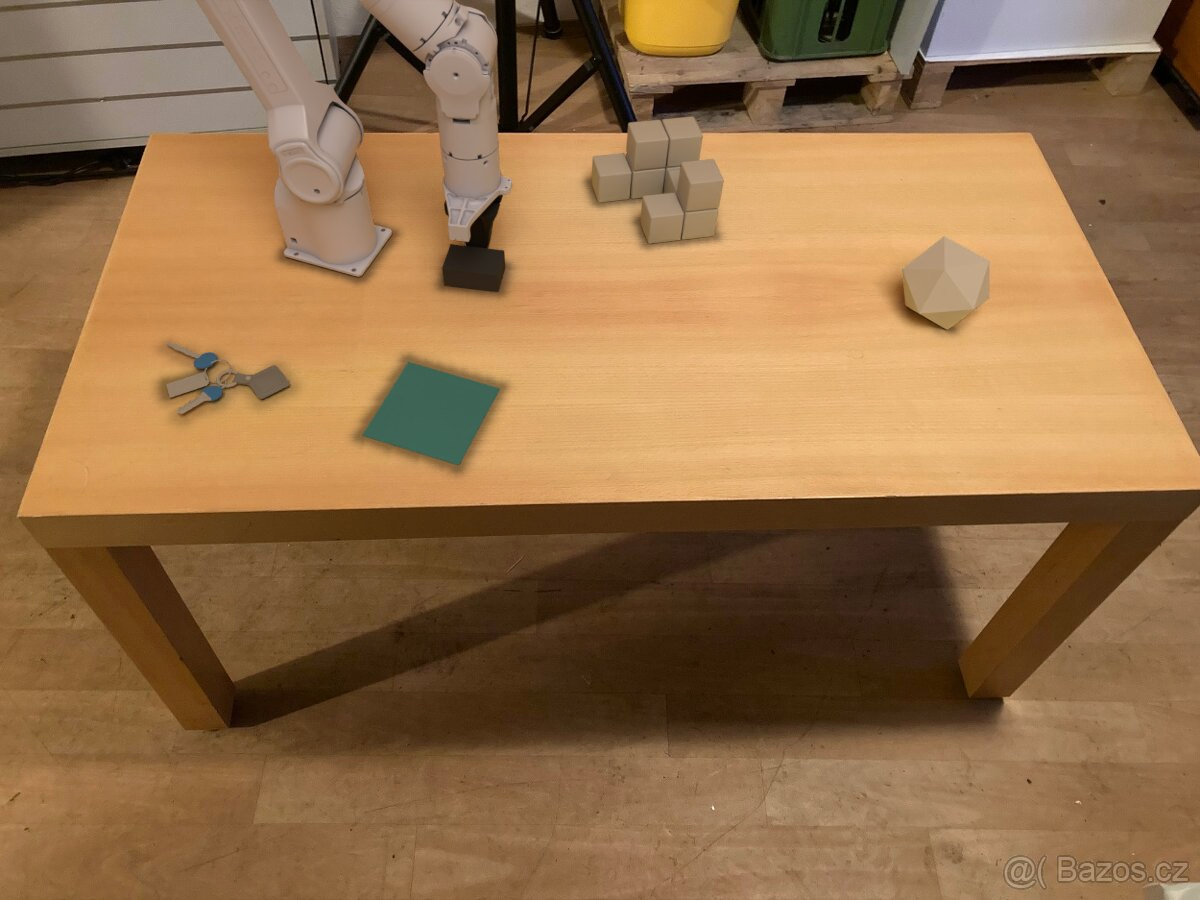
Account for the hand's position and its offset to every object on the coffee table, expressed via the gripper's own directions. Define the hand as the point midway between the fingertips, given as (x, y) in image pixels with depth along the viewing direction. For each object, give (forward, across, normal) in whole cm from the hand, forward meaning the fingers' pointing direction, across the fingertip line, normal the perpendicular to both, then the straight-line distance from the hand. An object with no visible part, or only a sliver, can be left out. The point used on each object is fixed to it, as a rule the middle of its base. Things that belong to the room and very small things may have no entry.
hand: (478, 248), depth 101 cm
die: (+2, 0, -50) cm, 50 cm away
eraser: (+1, -3, 0) cm, 3 cm away
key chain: (+1, -23, +22) cm, 31 cm away
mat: (+2, -22, 0) cm, 22 cm away
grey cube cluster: (+2, +12, -18) cm, 22 cm away
